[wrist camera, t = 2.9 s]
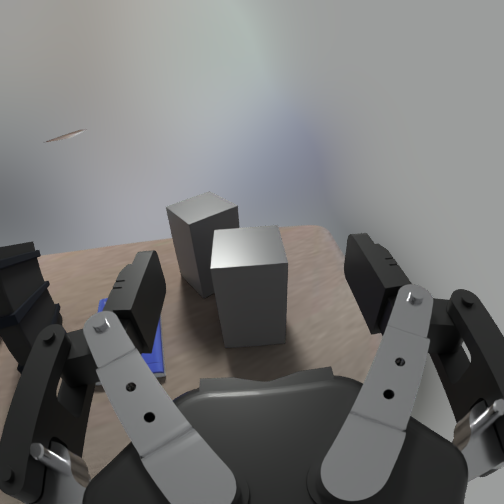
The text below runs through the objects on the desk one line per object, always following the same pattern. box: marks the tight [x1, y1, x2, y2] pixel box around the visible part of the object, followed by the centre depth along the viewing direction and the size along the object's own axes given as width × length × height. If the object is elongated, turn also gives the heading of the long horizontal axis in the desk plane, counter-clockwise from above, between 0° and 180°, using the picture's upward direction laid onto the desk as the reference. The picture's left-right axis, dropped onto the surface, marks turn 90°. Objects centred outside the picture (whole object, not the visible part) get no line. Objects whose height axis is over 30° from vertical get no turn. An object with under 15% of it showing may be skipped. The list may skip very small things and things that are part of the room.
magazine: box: [0, 242, 62, 374], centre depth 24 cm, size 4×13×15 cm, turn 23°
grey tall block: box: [166, 192, 239, 298], centre depth 35 cm, size 6×6×10 cm
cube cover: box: [210, 226, 288, 348], centre depth 28 cm, size 6×6×10 cm
